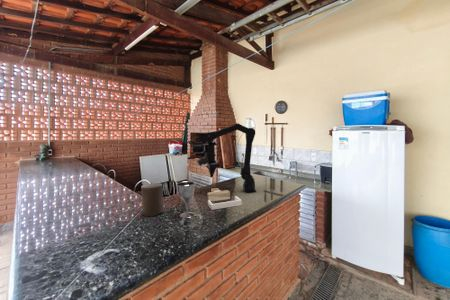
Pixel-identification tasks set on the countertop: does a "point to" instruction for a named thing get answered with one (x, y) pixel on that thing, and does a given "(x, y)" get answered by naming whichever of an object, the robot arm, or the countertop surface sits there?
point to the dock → (225, 204)
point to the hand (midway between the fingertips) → (211, 177)
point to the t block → (218, 195)
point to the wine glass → (186, 195)
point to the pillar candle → (152, 199)
